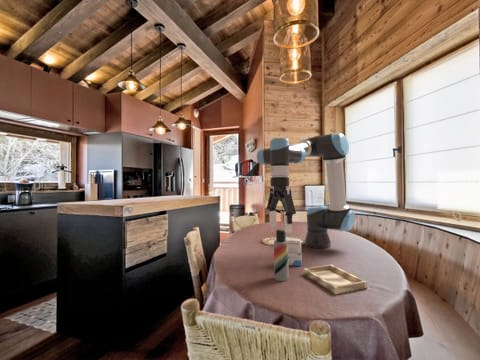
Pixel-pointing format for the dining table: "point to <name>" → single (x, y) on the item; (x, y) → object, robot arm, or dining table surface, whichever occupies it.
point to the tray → (335, 279)
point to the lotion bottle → (281, 256)
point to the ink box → (294, 252)
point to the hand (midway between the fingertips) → (280, 229)
